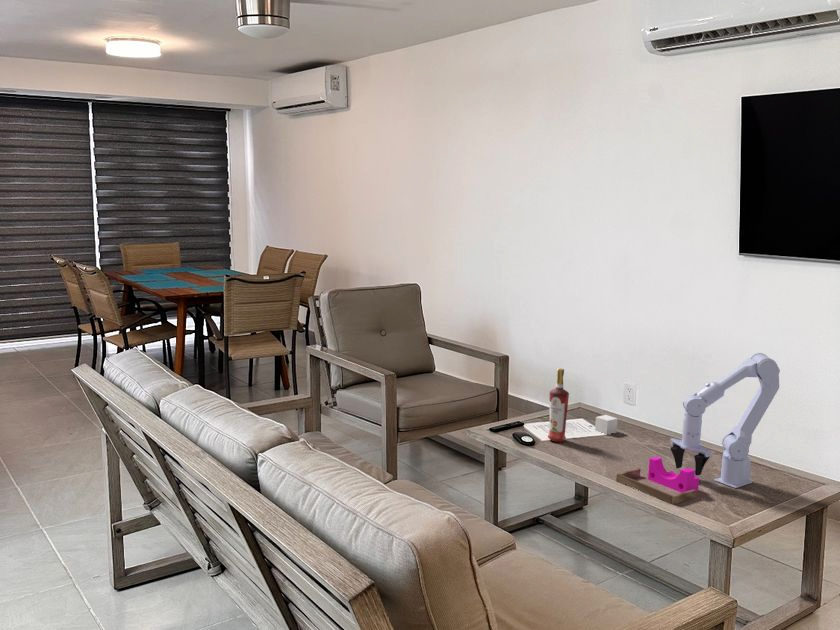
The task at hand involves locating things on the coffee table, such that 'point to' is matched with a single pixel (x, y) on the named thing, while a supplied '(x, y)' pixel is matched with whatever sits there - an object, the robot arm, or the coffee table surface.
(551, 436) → the liquor
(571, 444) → the coffee table surface
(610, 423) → the white cube
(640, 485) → the tray
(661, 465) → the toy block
